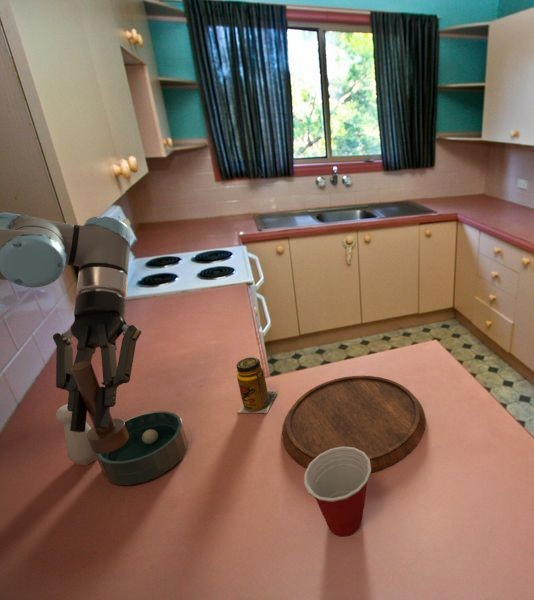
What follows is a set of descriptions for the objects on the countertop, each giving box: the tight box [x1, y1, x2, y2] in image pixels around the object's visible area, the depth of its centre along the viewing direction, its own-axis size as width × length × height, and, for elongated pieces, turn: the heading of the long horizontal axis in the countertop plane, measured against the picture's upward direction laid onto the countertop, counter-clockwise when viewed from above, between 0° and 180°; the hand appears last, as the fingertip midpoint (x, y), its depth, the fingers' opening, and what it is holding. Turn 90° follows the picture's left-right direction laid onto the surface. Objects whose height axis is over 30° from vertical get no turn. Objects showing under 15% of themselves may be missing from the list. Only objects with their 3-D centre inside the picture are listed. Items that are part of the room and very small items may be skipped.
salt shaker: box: [55, 403, 98, 466], centre depth 86 cm, size 6×6×13 cm
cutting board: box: [281, 375, 426, 475], centre depth 96 cm, size 32×32×2 cm
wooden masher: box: [70, 361, 129, 454], centre depth 72 cm, size 6×6×16 cm
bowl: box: [96, 410, 189, 486], centre depth 87 cm, size 15×15×6 cm
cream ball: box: [142, 429, 158, 444], centre depth 91 cm, size 3×3×3 cm
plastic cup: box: [303, 447, 372, 538], centre depth 70 cm, size 11×11×12 cm
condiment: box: [236, 356, 279, 414], centre depth 102 cm, size 7×8×12 cm
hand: (89, 429), depth 69 cm, fingers closed on wooden masher, 3 cm apart
